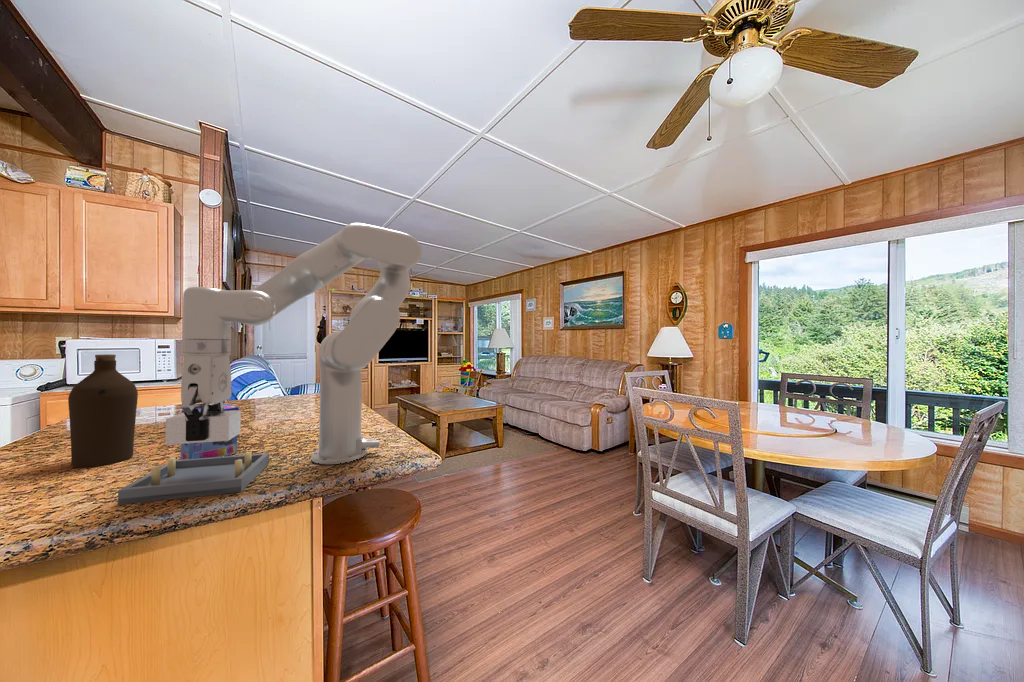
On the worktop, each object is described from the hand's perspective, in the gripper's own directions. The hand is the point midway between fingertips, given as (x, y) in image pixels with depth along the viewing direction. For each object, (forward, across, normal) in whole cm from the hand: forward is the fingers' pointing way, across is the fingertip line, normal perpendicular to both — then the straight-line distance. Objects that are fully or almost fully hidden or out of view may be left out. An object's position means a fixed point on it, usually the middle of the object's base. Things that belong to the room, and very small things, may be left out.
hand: (205, 435), depth 71 cm
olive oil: (+10, +21, +28) cm, 36 cm away
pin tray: (+9, 0, 0) cm, 9 cm away
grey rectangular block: (+1, 0, 0) cm, 1 cm away
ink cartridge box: (+10, +17, +6) cm, 21 cm away
